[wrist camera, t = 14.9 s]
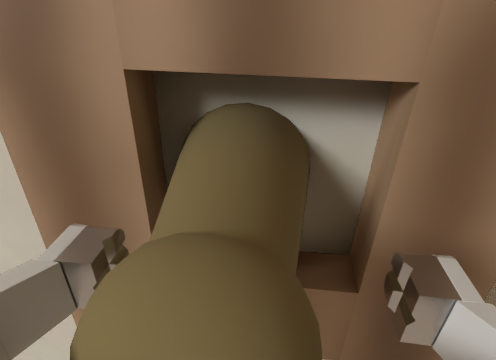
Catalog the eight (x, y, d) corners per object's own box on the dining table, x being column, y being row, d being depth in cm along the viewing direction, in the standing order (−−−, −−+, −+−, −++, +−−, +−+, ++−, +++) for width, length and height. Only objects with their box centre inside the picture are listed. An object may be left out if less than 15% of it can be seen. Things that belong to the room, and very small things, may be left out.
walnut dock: (624, -119, 9) (757, -165, 7) (420, 322, 19) (441, 372, 17) (-16, -118, 11) (-112, -155, 8) (104, 290, 21) (78, 331, 18)
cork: (297, 81, 13) (333, 312, 3) (320, 202, 16) (374, 514, 6) (164, 114, 14) (-78, 347, 5) (207, 220, 17) (108, 502, 7)
